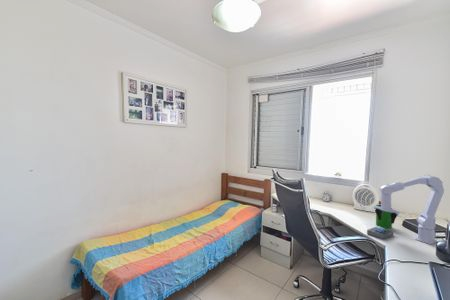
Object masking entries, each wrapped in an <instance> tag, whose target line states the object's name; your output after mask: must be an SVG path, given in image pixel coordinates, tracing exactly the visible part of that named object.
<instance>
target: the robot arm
mask: <svg viewBox="0 0 450 300" xmlns="http://www.w3.org/2000/svg"><path fill="white" fill-rule="evenodd" d="M443 183H444V182H443V181H442V179H440V178H439V177H437V176H432V175H431V174H425V175H420V176H417V177H414V178H412V179H408V180H405V181H403V182H401V181H394V182H393V183H390V184H389V183H388V184H387V185H381V186H380V188H379V192H380V201H381V204H380V205H381V207H378V206H376V205H374V206H373V210H374V211H375V215H376V214H377V216H378V219H379V220H381V213H382V211H386V212H390V213H391V214H390V215H391V223H392V225H393V224H395V220H396V219H397V217H398V216H399V215H400V211H399V210H397V209H393V208H392V194H393V193H396V192H400V191H404V190H405V188H406V187H411V186H414V185H419V184H420V185H426V186H427V187H429V189H430V190H431V191H430V194H429V197H428V199H427V201H426V204H425V207H424V210H423V212H421V213H420V214H419V215H418V216H417V217H416V222H417V224H418V225H417V231H418V232H417V237H416V238H415V240H416V241H418V242H419V241H420V242H422V243H425V244H429V245H433V244H435V243H437V242H438V241H437V239H436V231H435V228H436V226H437V225H436V217H435V215H436V213H437V210H438V208H439V205H440V204H441V201H442V198H443V196H444V193H445V188H444V185H443ZM391 208H392V209H391Z"/></svg>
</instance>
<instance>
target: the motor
mask: <svg viewBox="0 0 450 300" xmlns="http://www.w3.org/2000/svg"><path fill="white" fill-rule="evenodd" d="M375 206H378V207H381V200H379V201H378V204H376V205H375ZM391 209H393V207H391ZM390 214H391V213H390V212H386V211H382V213H381V220H379V219H378V216H377V214H376V213H375V225H376V227H377V226H379V227H382V228H385V229H392V228H393V224H392V223H391V215H390Z"/></svg>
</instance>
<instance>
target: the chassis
mask: <svg viewBox="0 0 450 300" xmlns="http://www.w3.org/2000/svg"><path fill="white" fill-rule="evenodd" d="M376 227H378V226H377V225H376V226H374V227H372V228H369V229H367V230H366V234H367V235H368V236H371V237H375V238H377V239H381V240H383V241H384V240H386V239H388V238H391V237H393V236H394V232H395V231H394V230H391V229H389V228H385V232H383V233H382V232H378V231H375V230H374V229H375V228H376Z"/></svg>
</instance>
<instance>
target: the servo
mask: <svg viewBox="0 0 450 300" xmlns="http://www.w3.org/2000/svg"><path fill="white" fill-rule="evenodd" d="M375 227H376V228H375V229H374V230H375V231H378V232H382V233H383V232H385V229H386V228H383V227H379V226H378V227H377V226H375Z"/></svg>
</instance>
